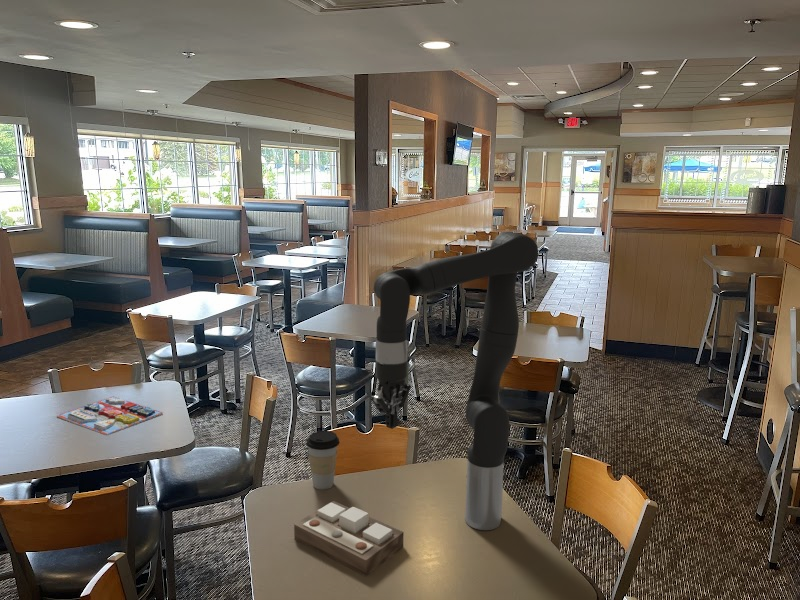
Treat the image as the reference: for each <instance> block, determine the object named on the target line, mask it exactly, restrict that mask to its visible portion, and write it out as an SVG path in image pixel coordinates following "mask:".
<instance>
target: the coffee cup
mask: <svg viewBox="0 0 800 600" xmlns="http://www.w3.org/2000/svg"><path fill="white" fill-rule="evenodd" d="M339 444H341V443H340V438H339V437H338V436H337V433H335V431H334V432H333V431H331V430H317V431H314V432H311V433H310V434H309V436H308V438H307V440H306V445H307V447H308V458H309V459H308V460H309V466H310V472H311V478H312V479H311V480H312V484H313V485H312V487H314V489H317V490H327V489H330V488H332V487H333V486H334V481H335V480H334V479H335V470H336V467H337V455H338V446H339Z"/></svg>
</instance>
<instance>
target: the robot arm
mask: <svg viewBox="0 0 800 600" xmlns="http://www.w3.org/2000/svg"><path fill="white" fill-rule="evenodd" d="M538 258H539V247H538V245H537V243H536V241H535V240H534V239H533V238H531V236H528V235H525V234H522V233H518V232H512V231H503V232H501V233H499V234H497V236H496V237H495V238H494V239H493V240H492V243H491V245H490V248H489V249H485V250H482V251H478V252H475V253H469V254H467V253H466V254H459V255H454V256H448V257H442V258H439V259H436V260H432V261H429V262H425V263H422V264H419V265H417V266H411V267H405V268H400V269H394V270H389V271H386V272H384V273H382V274H380V275H379V276H377V278H376V279H375V281H374V283H373V292H374V294H375V296H376V297H377V298H378V300H379V301H380V304H379V305H380V306H379V309H380V311H379V316H378V317H377V319H376V320H377V321H376V343H375V377H376V379H377V380H378V385H377V393H376V394H375V395H371V397H370V400H371V402H372V404H373V405H374V406H375V408H377V410H378V412H379V413H383V414H385V426H386V428H388V429H392V430H393V429H394V428H397V427H398V413H399V412H400V409H401V408H403V407H404V406H405V402H406V400H407V398H408V396H409V393H410V391H411V389H412V386H411V384H407V383H406V380H405V379H407V377H408V340H407V336H408V335H407V319H408V315H409V310H410V302H411V296H412V295H416V294H420V295H428V294H432V293H436V292H439V291H441V290H445V289H448V288H452V287H455V286H457V285H458V286H459V285H461V284H464V283H468V282H469V283H470V282H472V281H476V280H479V279H484V278H487V291H486V295H485V301H484V307H483V313H482V320H481V324H480V332H479V335H478V336H479V337H478V344H477V353H476V359H475V366H474V373H473V374H474V375H473V379H472V383H471V386H470V391H469V395H468V397H467V400H466V401H467V402H466V406H465V418H466V419H465V420H466V422H467V423H468V425H469V426H470V427H471V429H473V440H472V441H473V442H472V444H471V445H470V446H468V449H467V460H466V461H467V464H466V484H465V485H466V491H465V511H464V512H465V514H464V515H465V516H464V521H465V523H466V524H467V525H468V526H469V527H470V528H473V529H475V530H479V531H490V530H491V531H492V530H495V529H498V527H499V526H500V525H501V520H502V519H501V518H502V513H503V512H502V509H503V492H504V490H503V489H504V484H503V482H504V481H503V480H504V464H505V463H504V462H505V461H504V460H505V456H506V453H507V451H508V446H509V435H510V416H509V413H508V411H507V410H506V409H505V408H504V407H503V406H502V405H501V404H500V402H499V392H500V385H501V379H502V377H503V374H504V372H505V370H506V369H507V367H508V365H509V363H511V360H512V358H513V356H514V354H515V350H516V347H517V342H518V337H519V329H520V328H519V327H520V326H519V325H520V320H519V318H520V317H519V313H518V305H517V300H516V299H517V298H516V282H517V279H518V278H517V277H518V273H522V272H525V271H528V270H530V269H531V268H532V267H533V266H534V265H535V264H536V262H537V260H538Z"/></svg>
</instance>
